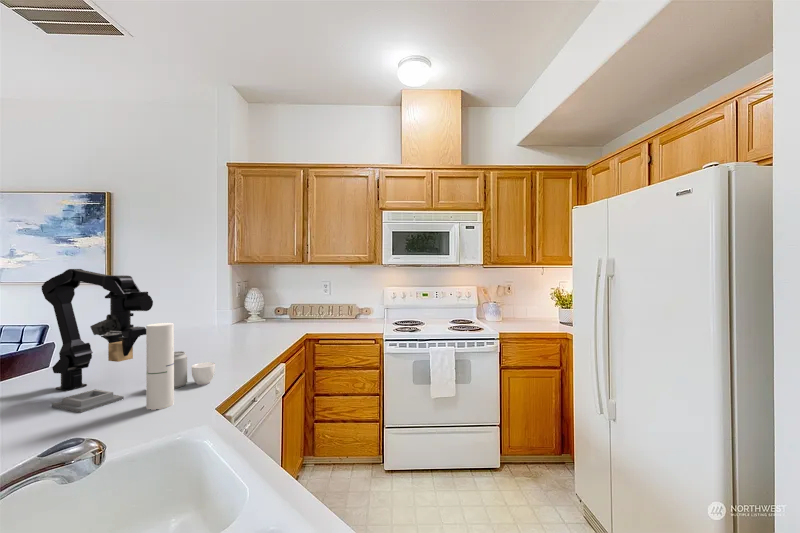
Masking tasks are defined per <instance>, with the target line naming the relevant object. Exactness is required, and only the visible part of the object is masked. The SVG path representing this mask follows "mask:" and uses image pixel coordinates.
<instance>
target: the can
mask: <svg viewBox="0 0 800 533" xmlns="http://www.w3.org/2000/svg"><path fill="white" fill-rule="evenodd" d="M187 383H188V355H187V354H186V351H182V350H181V351H174V389H178V388H181V387H184V386H185V385H187Z"/></svg>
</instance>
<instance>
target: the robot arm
mask: <svg viewBox="0 0 800 533" xmlns="http://www.w3.org/2000/svg"><path fill="white" fill-rule="evenodd" d="M81 283H86V284H89V285H90V284H91V285H94V286H100V287H102V289H103V290H106V291H109V293H108V294H106V295H104V299H110V300H109V301H110V303H109V304H110V305H109V307H110V311H109V312H110V313H109V314H108V313H107V315H106V319H104V320H100V321H98V322H97V323H94V324H92V325H90V329H91V331H92V334H93V336H99V337H101V338H103V339H105V340H106V341H107V342H108V344H109V343H114V342H120V341H122V346H123V354H124V356H127V355H128V354H129V352H130V350H131V348H132V347H133V348H134V345H135V343H136V341H137V340H138V338H140V337H141V336H146V327H145V326H139V325H138V326H134V324H132V323H131V317H134V315H135V314H134V312H148V311H150V310H151V309H152V307H153V305H154V301H153V298H152V297H151V295H149V292H148V291H142V290H140V289H139V287H138V285H137V284H136V283H135V281H134V279H133V276H131V275H124V274H123V275H120V274H119V275H109V274H105V273H100V272H93V271H89V270H84V269H82V268H68V269H66V270H64V271H63V272H61V273H60V274H57V275H55V276H53V277H51V278H49V279H48V280H46V281H44V283H43V284H42V285H41V292H42V294H43V297H44V299H45V300H46V301H47V302H48V303H49V304H51V306H53V311H54V315H55V319H56V322H57V326H58V331H59V333H60V338H61V341H62V342H61V343H62V346H61V348H60V350H59V353H58V354H59V359H58V361H57V362H56V363H55V364H54V365H53V366H52V367H51V368H52V372H53V374H60V386H56V387H55V390H59V391H60V390H61V391H65V392H66V391H70V390H74V389H79V388H82V387H86V386H87V383H83V369H86V368H87V369H88V368H89V365H90V362H91V359H92V358H93V355H92V354H93V353H94V352H93V351H92V348H91V344H90V342H84V341H83V340H82V339H81V335H80V331H79V328H78V322H77V319H76V316H75V312H74V307H73V304H72V301H73V299H74V297H75V294H76V292H75V289H77V288H78V287H79V286H80V285H81Z"/></svg>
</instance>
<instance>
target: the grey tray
mask: <svg viewBox="0 0 800 533" xmlns="http://www.w3.org/2000/svg"><path fill="white" fill-rule="evenodd" d="M122 399H123V400H124V396H123V395H118V394H114V391H108V390H103V389H90V390H88V391H84V392H80V393H77V394H73V395H69V396H66V397H63V398H62V400H60V401H56V402H53V403H51V407H52V408H56V409H61V410H66V411H70V412H76V413H80V414H81V413H83V412H87V411H90V410H94V409H97V408H100V407H103V406H106V405H109V404H114V403H117V402H119V400H120V401H123V400H122ZM116 401H117V402H116Z"/></svg>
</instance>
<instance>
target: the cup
mask: <svg viewBox="0 0 800 533" xmlns="http://www.w3.org/2000/svg"><path fill="white" fill-rule="evenodd" d="M215 374H216V363H215V362H209V361H208V362H200V363H195V364H192V366H191V376H192V379H193V380H194V382H195V384H196V385H197V386H205V385H208V384H211V382H212V380H213V378H214V376H215Z"/></svg>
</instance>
